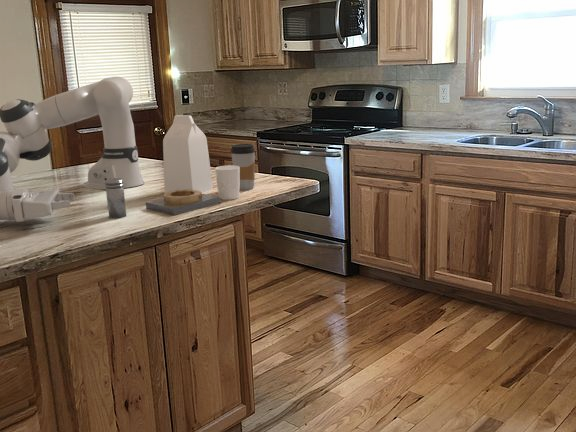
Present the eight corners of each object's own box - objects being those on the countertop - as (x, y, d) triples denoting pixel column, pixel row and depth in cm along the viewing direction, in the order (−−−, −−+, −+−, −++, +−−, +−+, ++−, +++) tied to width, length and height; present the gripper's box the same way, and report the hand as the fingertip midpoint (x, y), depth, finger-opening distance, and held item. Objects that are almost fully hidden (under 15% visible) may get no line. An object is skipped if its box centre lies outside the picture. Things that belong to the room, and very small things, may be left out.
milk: (213, 189, 216) (207, 114, 209) (193, 196, 206) (186, 117, 199) (185, 186, 221) (179, 113, 214) (164, 193, 211) (157, 117, 205)
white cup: (217, 195, 205) (215, 166, 203) (241, 194, 206) (239, 164, 203) (216, 201, 197) (214, 170, 195) (241, 199, 198) (239, 168, 196)
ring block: (174, 215, 182) (172, 202, 181) (146, 208, 191) (145, 196, 190) (220, 203, 194) (219, 190, 193) (192, 197, 204) (191, 185, 203)
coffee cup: (253, 191, 210) (251, 147, 206) (230, 191, 211) (227, 147, 208) (259, 186, 218) (257, 143, 214) (236, 185, 219) (234, 143, 215)
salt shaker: (105, 218, 181) (101, 181, 179) (115, 213, 186) (111, 178, 183) (120, 218, 180) (116, 181, 177) (129, 214, 185) (126, 178, 182)
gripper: (29, 206, 187) (77, 202, 190) (15, 223, 168) (69, 218, 170) (26, 186, 185) (74, 182, 188) (12, 200, 166) (66, 196, 169)
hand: (72, 199), depth 179 cm, fingers open, 8 cm apart
